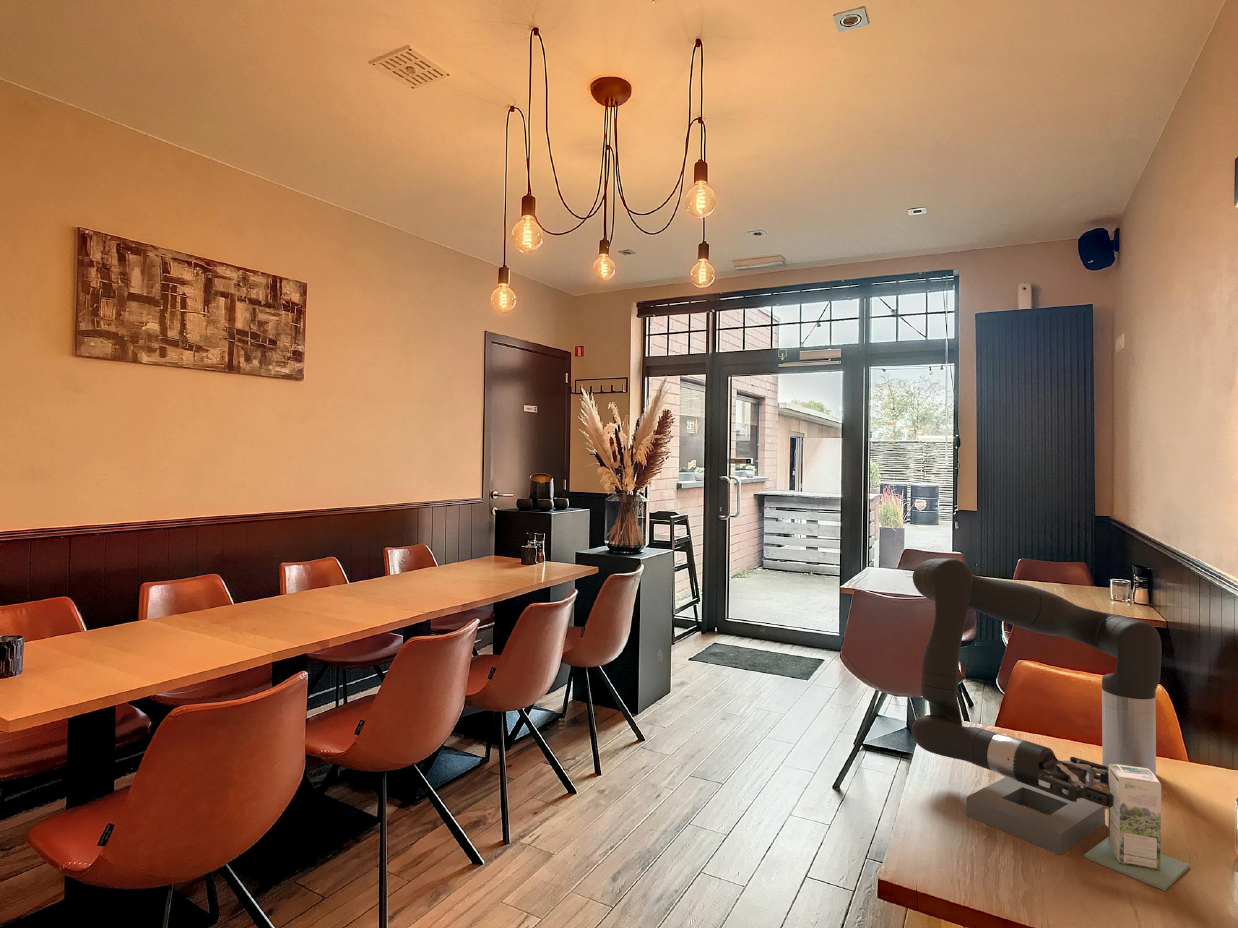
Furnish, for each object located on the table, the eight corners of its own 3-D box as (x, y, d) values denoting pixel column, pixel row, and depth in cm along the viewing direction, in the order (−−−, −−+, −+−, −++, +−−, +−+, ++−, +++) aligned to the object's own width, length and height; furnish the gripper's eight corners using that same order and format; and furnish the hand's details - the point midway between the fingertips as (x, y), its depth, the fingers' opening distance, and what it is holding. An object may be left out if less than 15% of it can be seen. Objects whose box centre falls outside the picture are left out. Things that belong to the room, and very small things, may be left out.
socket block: (1013, 790, 137) (1013, 772, 137) (1105, 823, 124) (1104, 804, 124) (966, 815, 127) (966, 796, 127) (1060, 854, 114) (1060, 833, 114)
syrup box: (1148, 853, 114) (1147, 766, 114) (1162, 872, 108) (1161, 780, 108) (1108, 846, 116) (1107, 760, 116) (1119, 864, 110) (1118, 775, 111)
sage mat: (1110, 837, 120) (1110, 834, 120) (1189, 867, 111) (1189, 864, 111) (1084, 857, 113) (1083, 854, 113) (1164, 890, 104) (1164, 887, 104)
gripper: (1002, 749, 123) (1106, 782, 110) (1038, 732, 131) (1139, 761, 118) (1002, 790, 123) (1106, 829, 109) (1038, 771, 131) (1139, 805, 118)
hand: (1123, 794), depth 114 cm, fingers open, 8 cm apart
